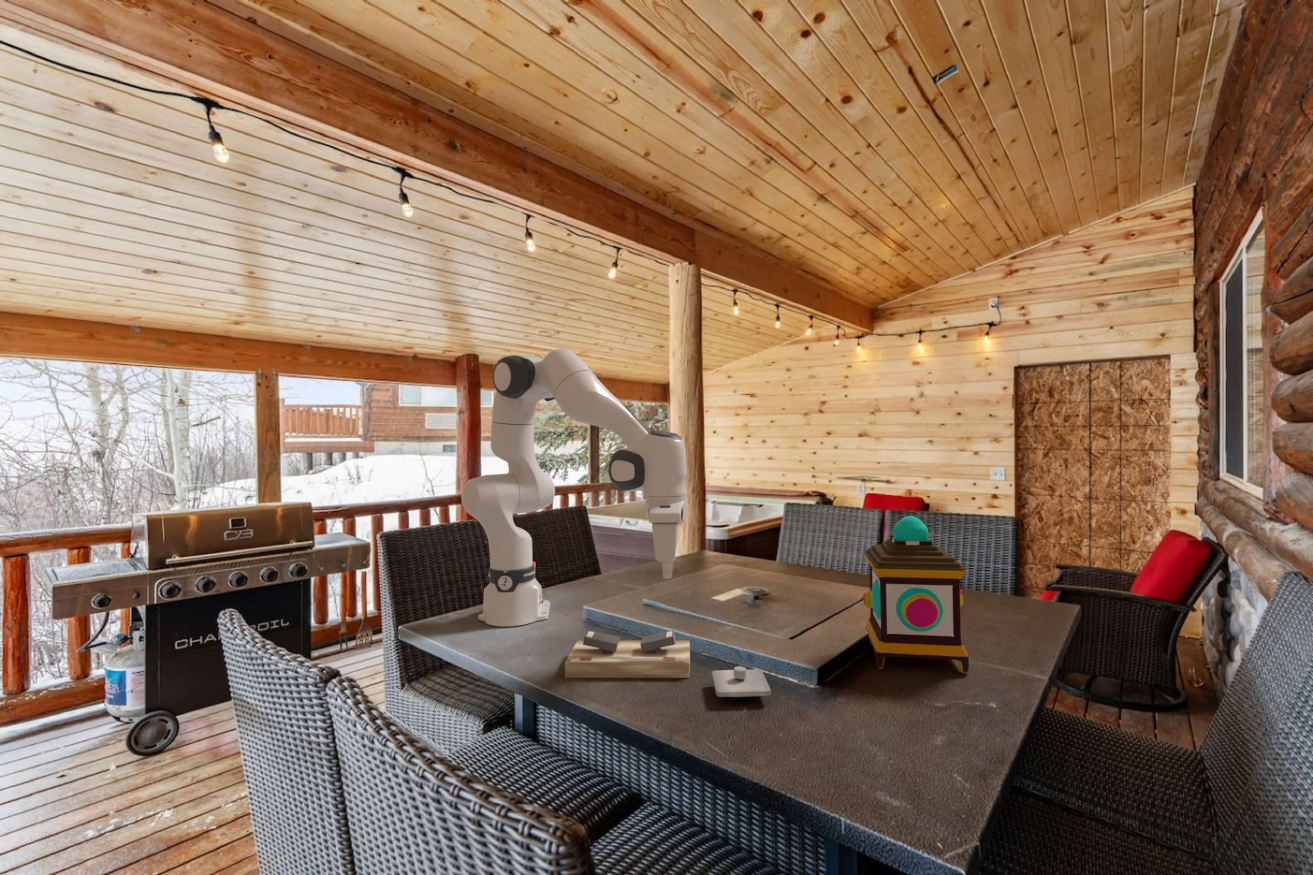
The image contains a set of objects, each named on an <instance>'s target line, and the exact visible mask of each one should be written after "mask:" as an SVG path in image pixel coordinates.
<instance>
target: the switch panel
mask: <svg viewBox="0 0 1313 875" xmlns="http://www.w3.org/2000/svg"><path fill="white" fill-rule="evenodd" d="M583 642H584V640H577V641H576V642H575V645H574V646H573V648H572V650H571V651H570V652H569V655H568V657H567V658H566V660H565V662H564V678H565V679H576V678H577V679H587V678H588V679H592V678H593V679H596V678H597V679H598V678H599V679H607V678H608V679H653V678H654V679H663V678H664V679H690V677H691V676H690V672H691V671H690V668H691V645H690V643H691V642H690V640H689V639H688V640H682V639H681V640H680V639H679V640H678V639H675V645H671V646H666V647H661V648H657V649H652V650H647V651H643V652H642V649H641V645H640V643H641V640H619V644H618V647H617V650H616V652H615V651H610V650H605V649H601V648H596V647H591V646H586V645H583Z"/></svg>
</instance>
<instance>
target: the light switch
mask: <svg viewBox="0 0 1313 875" xmlns="http://www.w3.org/2000/svg"><path fill="white" fill-rule="evenodd" d="M711 679H712V683H713V687H714V691H715V695H716V696H717V697H719V698H726V697H727V698H728V697H730V698H752V697H769V696H771V695H772V690H771V687H770V684H769V683H768V681H767V678H766V676H765V674H764V673H763V670H762V669H747V668H746V667H744V666H741V665H740V666H739V665H738V666H735V667H734V668H733V669H724V670H723V669H721V670H718V669H717V670H713V671H711Z"/></svg>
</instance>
